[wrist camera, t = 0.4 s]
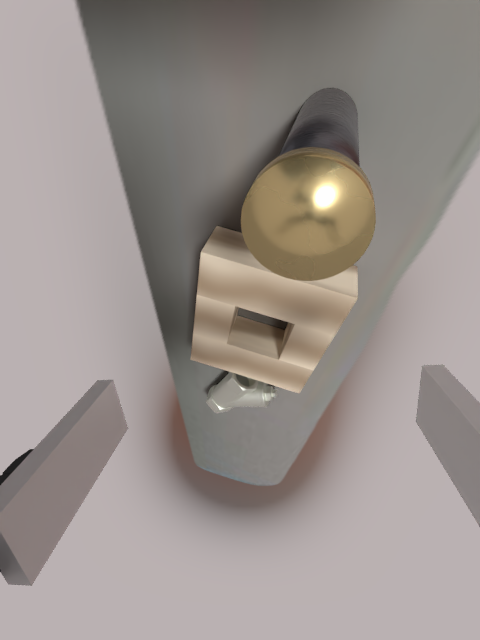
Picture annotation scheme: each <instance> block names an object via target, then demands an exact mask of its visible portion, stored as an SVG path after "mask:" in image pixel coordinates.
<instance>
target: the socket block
mask: <svg viewBox="0 0 480 640" xmlns="http://www.w3.org/2000/svg"><path fill="white" fill-rule="evenodd" d="M357 299H358V280H357V266H353V265H352V266H351V267H349V268H348V269H347V270H345V271H343V272H341V273H340V274H337V275H335V276H332V277H329V278H326V279H322V280H315V281H299V280H293V279H288V278H285V277H282V276H279V275H277V274H275V273H273V272H271V271H270V270H268V269H267V268H265V267H264V266H263V265H261V264H260V263H259V262H258V261H257V260H256V259H255V257H254V256H253V255H252V254H251V252H250V250H249V249H248V247H247V245H246V243H245V241H244V238H243V234H242V233H240V232H237V231H233V230H230V229H226V228H223V227H220V226H216V227H215V229H214V231H213V233H212V234H211V236H210V238H209V239H208V241H207V243H206V244H205V246H204V248H203V249H202V251H201V256H200V267H199V277H198V288H197V298H196V309H195V319H194V330H193V340H192V351H191V360H194V361H197V362H200V363H203V364H207V365H210V366H213V367H216V368H219V369H223V370H226V371H229V372H232V373H235V374H239V375H242V376H245V377H248V378H251V379H255V380H258V381H261V382H264V383H267V384H271V385H274V386H277V387H280V388H283V389H287V390H290V391H293V392H296V393H300V391H301V390H302V388H303V387H304V385H305V383H306V382H307V380H308V378H309V377H310V375H311V374H312V372H313V370H314V369H315V367H316V365H317V364H318V362H319V361H320V359H321V357H322V356H323V354H324V352H325V351H326V349H327V348H328V346H329V344H330V343H331V341H332V339H333V338H334V336H335V335H336V333H337V331H338V330H339V328H340V326H341V325H342V323H343V322H344V320H345V318H346V317H347V315H348V313H349V312H350V310H351V309H352V307H353V305H354V304H355V302H356V300H357ZM239 307H240V308H243V309H246V310H250V311H253V312H256V313H259V314H263V315H266V316H269V317H273V318H276V319H279V320H283V321H286V322H288V324H287V326H286V329H285V330H283V329H280V328H277V327H274V326H270V325H267V324H264V323H260V322H257V321H254V320H251V319H247V318H244V317H241V316H237V314H238V310H239Z"/></svg>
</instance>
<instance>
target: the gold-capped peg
mask: <svg viewBox="0 0 480 640" xmlns="http://www.w3.org/2000/svg"><path fill="white" fill-rule="evenodd" d="M375 223H376V218H375V205H374V197H373V191H372V188H371V185H370V182H369V180H368V178H367V176H366V175H365V174H364V172H363V171H362V169H361V168H360V164H359V140H358V115H357V109H356V105H355V103H354V101H353V100H352V98H351V97H350V96H349V95H348V94H347V93H346V92H344V91H342V90H340V89H336V88H326V89H322V90H320V91H317V92H316V93H314V94H313V95H311V96H310V97H309V98H308V99H307V100H306V102H305V103H304V104H303V106H302V108H301V110H300V112H299V114H298V116H297V118H296V120H295V123H294V125H293V127H292V129H291V131H290V133H289V135H288V137H287V140H286V142H285V144H284V146H283V148H282V150H281V152H280V154H279V156H278V157H276V158H275V159H274V160H272V161H271V162H270V163H268V164H267V165H266V166H265V167H264V168H263V169H262V171H261V172H260V173H259V174H258V176H257V177H256V179H255V181H254V183H253V184H252V186H251V188H250V190H249V192H248V194H247V196H246V198H245V201H244V203H243V207H242V212H241V229H242V234H243V238H244V241H245V243H246V245H247V247H248V249H249V250H250V252H251V254H252V255H253V256H254V257H255V259H256V260H257V261H258V262H259V263H260V264H261V265H263V266H264V267H265V268H267V269H268V270H270V271H271V272H273V273H275V274H277V275H279V276H282V277H285V278H288V279H293V280H299V281H315V280H322V279H326V278H329V277H332V276H335V275H337V274H340V273H341V272H343V271H345V270H347V269H348V268H349V267H351V266H352V265H353V264H354V263H356V262H357V261H358V260H359V259H360V257H361V256H362V255H363V254H364V252H365V251H366V249H367V248H368V246H369V244H370V242H371V240H372V237H373V234H374V229H375Z"/></svg>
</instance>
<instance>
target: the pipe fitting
mask: <svg viewBox="0 0 480 640" xmlns="http://www.w3.org/2000/svg"><path fill="white" fill-rule="evenodd" d="M274 397H277V390H274V388H273V387H272V386H269V384H267V383H264V382H261V381H258V380H255V379H251V378H248V377H245V376H242V375H239V374H235V373H232V372H229V373H228V375H227V376H226V377H225V378H224V379H223V380H222V381H221V382H220V383H219V384H218V385H213V386H212V387H211V388H210V390H209V393H208V396H207V400H206V402H207V404H208V405H209V407H210V408H211V409H212V410H213V411H214V412H215V413H222V412H227V411H229V410H231V409H232V408H233V407H268V405H269V402H270V400H274Z"/></svg>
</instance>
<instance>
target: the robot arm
mask: <svg viewBox="0 0 480 640" xmlns="http://www.w3.org/2000/svg"><path fill="white" fill-rule="evenodd" d="M416 422H417V424H418V426H419V427H420V429H421V430H422V432H423V434H424V435H425V437H426V439H427V441H428V442H429V444H430V445H431V447H432V448H433V450H434V452H435V454H436V455H437V457H438V459H439V460H440V462H441V463H442V465H443V467H444V469H445V470H446V472H447V473H448V475H449V477H450V478H451V480H452V482H453V483H454V485H455V486H456V488H457V490H458V491H459V493H460V495H461V497H462V498H463V500H464V502H465V503H466V505H467V506H468V508H469V509H470V511H471V513H472V515H473V516H474V518H475V519H476V521H477V523H478V525H479V526H480V403H479V402H478V401H477V400H476V399H475V398H474V397H473V396H472V394H470V392H469V391H468V390H467V389H466V388H465V387H464V386H463V385H462V384H461V383H460V382H459V381H458V380H457V379H456V378H455V377H454V376H453V375H452V374H451V373H450V372H449V370H448V369H447V368H446V367H445V366H444V365H424V366H422V372H421V381H420V390H419V399H418V409H417V417H416ZM127 429H128V427H127V424H126V420H125V417H124V414H123V411H122V407H121V404H120V401H119V397H118V394H117V391H116V388H115V384H114V381H113V380H100V381H99V380H98V381H97V382H96V383H95V384H94V385H93V386H92V387H91V388H90V389H89V390H88V391H87V392H86V393H85V395H84V396H83V397H82V398H81V399H80V400H79V401H78V402H77V403H76V404H75V405H74V407H72V409H71V410H70V411H69V412H68V413H67V414H66V415H65V416H64V417H63V419H61V420H60V422H59V423H58V424H57V425H56V426H55V427H54V428H53V429H52V430H51V431H50V432H49V433H48V435H47V436H46V437H45V438H44V439H43V440H42V441H41V442H40V443H39V444H38V445H37V446H36V447H35V449H30V450H28V451H27V452H26V453H24V454H23V455H21V456H20V457H19V458H17V459H16V460H15V461H14V462H13V463H12V464H11V465H10V466H9V467H8V468H7V469H6V470H5V471H4V472H3V475H1V476H0V572H1V573H2V575H3V576H4V578H5V580H6V581H7V583H8V584H12V585H32V584H33V583H34V581H35V579H36V578H37V576H38V574H39V573H40V571H41V569H42V568H43V566H44V564H45V563H46V561H47V560H48V558H49V556H50V555H51V553H52V552H53V550H54V548H55V547H56V545H57V543H58V541H59V540H60V539H61V537H62V535H63V534H64V532H65V530H66V529H67V527H68V525H69V524H70V522H71V521H72V519H73V517H74V516H75V514H76V512H77V511H78V509H79V507H80V506H81V504H82V503H83V501H84V499H85V498H86V496H87V494H88V493H89V491H90V489H91V488H92V486H93V485H94V483H95V481H96V480H97V478H98V476H99V475H100V473H101V472H102V470H103V468H104V467H105V465H106V463H107V462H108V460H109V458H110V457H111V455H112V453H113V452H114V450H115V449H116V447H117V445H118V444H119V442H120V441H121V439H122V437H123V436H124V434H125V432H126V431H127Z"/></svg>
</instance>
